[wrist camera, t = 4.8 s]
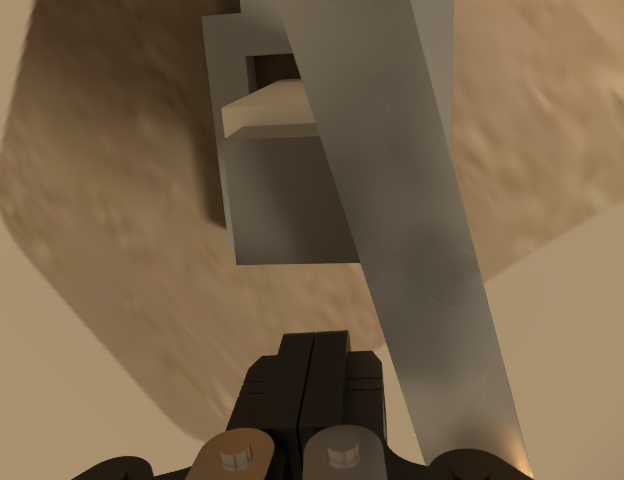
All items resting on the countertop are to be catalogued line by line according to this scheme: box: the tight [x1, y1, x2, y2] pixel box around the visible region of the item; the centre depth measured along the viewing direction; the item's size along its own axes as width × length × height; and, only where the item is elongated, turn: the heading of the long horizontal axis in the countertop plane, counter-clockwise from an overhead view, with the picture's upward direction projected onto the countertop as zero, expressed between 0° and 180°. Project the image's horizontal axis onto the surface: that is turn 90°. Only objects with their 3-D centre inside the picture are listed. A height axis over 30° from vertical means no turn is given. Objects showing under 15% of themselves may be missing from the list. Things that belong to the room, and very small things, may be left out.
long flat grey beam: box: [276, 0, 534, 480], centre depth 9 cm, size 19×3×4 cm, turn 18°
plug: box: [221, 78, 361, 265], centre depth 19 cm, size 4×4×11 cm
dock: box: [201, 0, 453, 247], centre depth 17 cm, size 18×9×12 cm, turn 4°
